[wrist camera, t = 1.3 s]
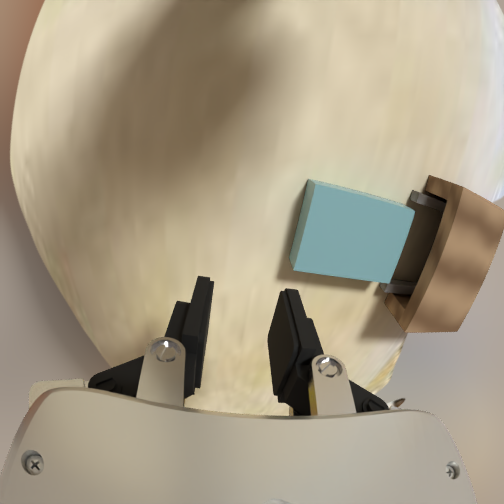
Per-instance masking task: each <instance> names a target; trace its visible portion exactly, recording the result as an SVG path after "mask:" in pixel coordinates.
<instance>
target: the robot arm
mask: <svg viewBox="0 0 504 504" xmlns="http://www.w3.org/2000/svg"><path fill="white" fill-rule="evenodd" d="M213 287H214V281H210V278H209V277H203V276H198V278H197V282H196V285H195V289H194V292H193V296H192V299H191V303H187V302H181V301H177V302H176V304H175V307H174V310H173V313H172V316H171V319H170V322H169V325H168V328H167V331H166V334H165V337H160V338H156V339H154V340H152V341H151V342H150V343H149V344H148V345H147V347H146V351H145V355H144V356H142V357H139V358H137V359H134V360H132V361H129V362H126V363H124V364H121V365H119V366H116V367H113V368H111V369H108V370H106V371H103V372H100V373H98V374H96V375H94V376H93V377H92V378H91V379H90V381H84V380H83V379H82V378H81V379H69V380H52V381H39V382H36V383H35V384H33V385H32V386H31V388H30V390H29V410H28V412H27V414H26V415H25V417H24V419H23V421H22V422H21V424H20V427H19V429H18V431H17V433H16V435H15V437H14V439H13V442H12V444H11V447H10V449H9V452H8V455H7V457H6V460H5V464H4V466H3V469H2V472H1V476H0V504H477V500H476V497H475V493H474V490H473V487H472V484H471V481H470V479H469V476H468V473H467V470H466V468H465V465H464V462H463V460H462V457H461V455H460V453H459V451H458V449H457V446H456V445H455V443H454V440H453V438H452V436H451V435H450V433H449V431H448V430H447V428H446V426H445V425H444V423H443V422H442V421H441V420H440V419H439V418H438V417H437V416H435V415H434V414H431V413H428V412H425V411H419V410H411V409H401V408H397V407H394V406H391V407H390V408H388V406H387V404H386V403H385V402H384V401H383V400H382V399H380V398H379V397H377V396H375V395H374V394H372V393H370V392H369V391H367V390H365V389H364V388H362V387H360V386H359V385H357V384H355V383H354V382H352V381H350V380H349V379H348V375H347V371H346V368H345V365H344V364H343V363H342V361H341V360H339V359H338V358H336V357H334V356H331V355H324V353H323V350H322V347H321V344H320V341H319V338H318V335H317V332H316V329H315V326H314V323H313V320H312V319H311V318H307V316H306V313H305V310H304V307H303V304H302V301H301V298H300V295H299V292H298V290H295V289H287V288H286V289H285V290H284V291H281V292H280V295H279V298H278V302H277V305H276V309H275V312H274V316H273V319H272V323H271V326H270V330H269V333H268V350H269V359H270V367H271V376H272V385H273V393H274V395H275V396H278V403H286V404H288V405H289V406H290V407H289V416H268V415H249V414H236V413H225V412H216V411H207V410H200V409H193V408H186V407H184V402H185V398H187V397H189V396H191V395H194V392H195V388H200V385H201V378H202V370H203V363H204V356H205V349H206V342H207V335H208V327H209V319H210V311H211V303H212V295H213Z"/></svg>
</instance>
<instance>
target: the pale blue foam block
mask: <svg viewBox="0 0 504 504" xmlns="http://www.w3.org/2000/svg"><path fill="white" fill-rule="evenodd" d="M414 214H415V211H414V210H413V209H411V208H409V207H407V206H405V205H403V204H401V203H398V202H395V201H391V200H388V199H385V198H381V197H378V196H374V195H371V194H367V193H363V192H360V191H356V190H352V189H348V188H345V187H341V186H337V185H333V184H328V183H324V182H320V181H316V180H311V179H308V182H307V187H306V191H305V195H304V200H303V204H302V208H301V212H300V216H299V221H298V225H297V229H296V233H295V237H294V241H293V245H292V248H291V252H290V256H289V259H290V262H291V265H292V267H293V270H294V271H301V272H308V273H315V274H322V275H329V276H337V277H344V278H351V279H359V280H366V281H374V282H381V283H390V280H391V278H392V275H393V273H394V271H395V268H396V265H397V263H398V260H399V258H400V255H401V252H402V250H403V247H404V244H405V241H406V238H407V236H408V233H409V230H410V227H411V224H412V221H413V217H414Z"/></svg>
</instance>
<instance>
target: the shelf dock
mask: <svg viewBox="0 0 504 504" xmlns="http://www.w3.org/2000/svg"><path fill="white" fill-rule="evenodd" d="M425 191H428V192H430V193H433V194H435V195H437V196H440V197H442V198H444V199H446V200H447V203H445V202H443V201H440V200H438V199H435V198H433V197H430V196H427V195H425V194H422V193H419V192H417V191H414V190H412V194H411V198H410V200H412V201H414V202H416V203H419V204H422V205H425V206H427V207H430V208H433V209H436V210H438V211H441V212H444V214H443V217H442V220H441V223H440V226H439V229H438V232H437V235H436V238H435V240H434V243H433V246H432V249H431V251H430V254H429V256H428V259H427V261H426V264H425V266H424V269H423V271H422V274H421V276H420V278H419V281H418V283H415V282H408V281H400V280H393V279H391V280H390V283H381V284H380V287H381V288H382V290H383V291H384V292H388V293H389V294H388V296H387V298H386V300H385V302H384V303H385V305H386V306H387V308H388V309H389V310H390V312H391V313H392V315H393V316H394V317H395V319H396V320H397V322H398V323H399V325H400V326H401V327H402V329H403V330H404V332H405V333H411V332H412V333H413V332H414V333H415V332H416V333H417V332H457V331H458V329H459V328H460V326H461V324H462V322H463V320H464V319H465V317H466V315H467V313H468V312H469V310H470V308H471V306H472V304H473V302H474V300H475V298H476V296H477V294H478V292H479V290H480V288H481V286H482V283H483V281H484V279H485V277H486V274H487V272H488V270H489V267H490V265H491V263H492V260H493V258H494V255H495V252H496V249H497V247H498V244H499V242H500V238H501V236H502V233H503V229H504V210H503V209H502V208H500V207H498V206H497V205H495V204H493V203H492V202H490V201H488V200H486V199H485V198H483V197H481V196H479V195H477V194H476V193H474V192H472V191H470V190H468V189H466V188H464V187H462V186H459V185H456V184H454V183H451V182H448V181H445V180H442V179H439V178H436V177H433V176H430V175H429V178H428V182H427V186H426V190H425Z"/></svg>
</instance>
